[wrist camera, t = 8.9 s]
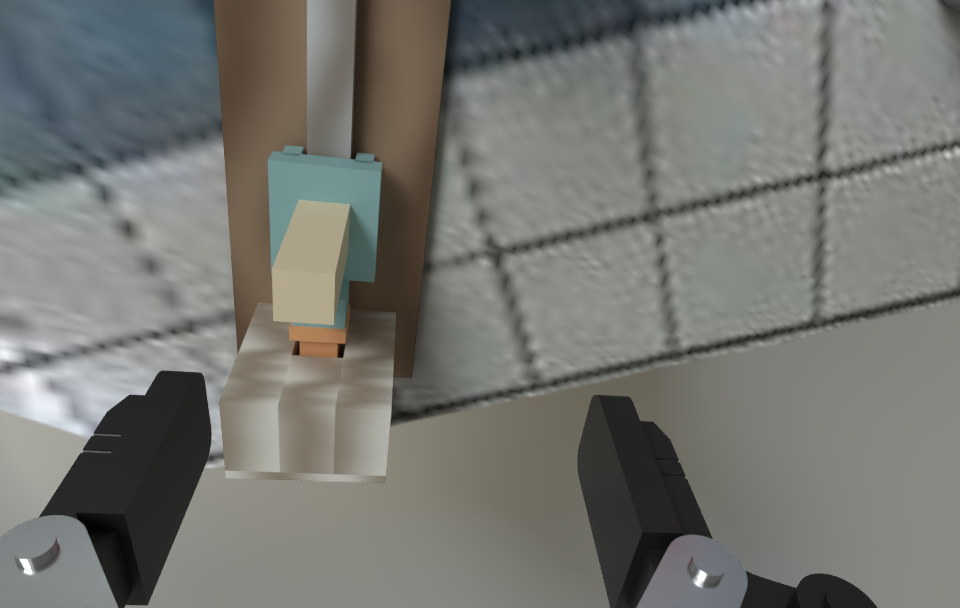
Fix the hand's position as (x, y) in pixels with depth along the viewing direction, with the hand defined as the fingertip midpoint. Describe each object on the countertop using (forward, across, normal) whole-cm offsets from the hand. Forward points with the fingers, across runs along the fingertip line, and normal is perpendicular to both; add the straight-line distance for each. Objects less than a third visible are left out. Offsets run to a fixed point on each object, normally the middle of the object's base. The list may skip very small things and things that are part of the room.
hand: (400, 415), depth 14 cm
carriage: (+27, +5, +8) cm, 28 cm away
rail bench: (+28, +5, +7) cm, 29 cm away
